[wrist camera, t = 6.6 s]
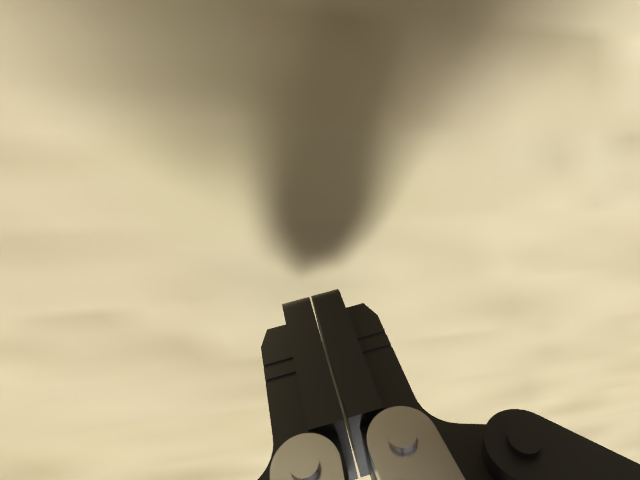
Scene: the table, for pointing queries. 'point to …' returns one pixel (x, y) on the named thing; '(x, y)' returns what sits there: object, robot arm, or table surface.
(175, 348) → the table surface
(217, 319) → the table surface
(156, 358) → the table surface
